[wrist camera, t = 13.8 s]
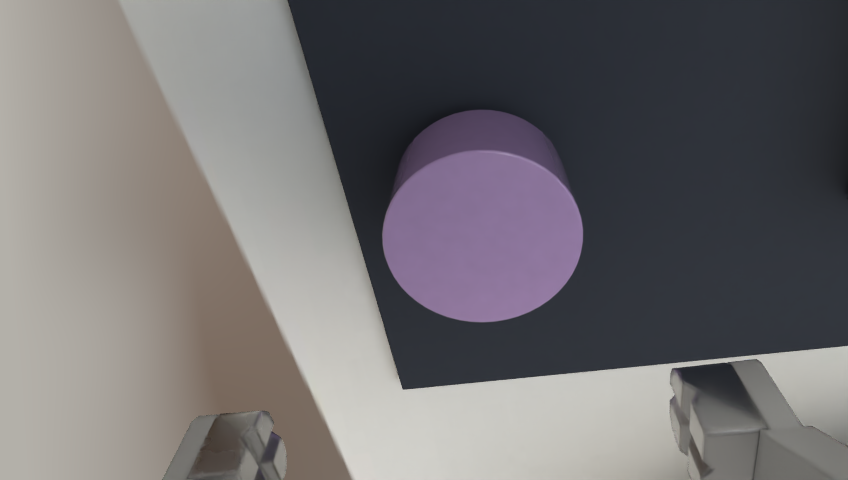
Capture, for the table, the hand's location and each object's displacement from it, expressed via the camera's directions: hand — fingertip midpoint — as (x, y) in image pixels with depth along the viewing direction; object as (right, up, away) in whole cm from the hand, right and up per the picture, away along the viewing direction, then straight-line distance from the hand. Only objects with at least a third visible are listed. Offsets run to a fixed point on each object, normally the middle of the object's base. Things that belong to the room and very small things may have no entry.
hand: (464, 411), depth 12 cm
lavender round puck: (+1, +6, +10) cm, 11 cm away
